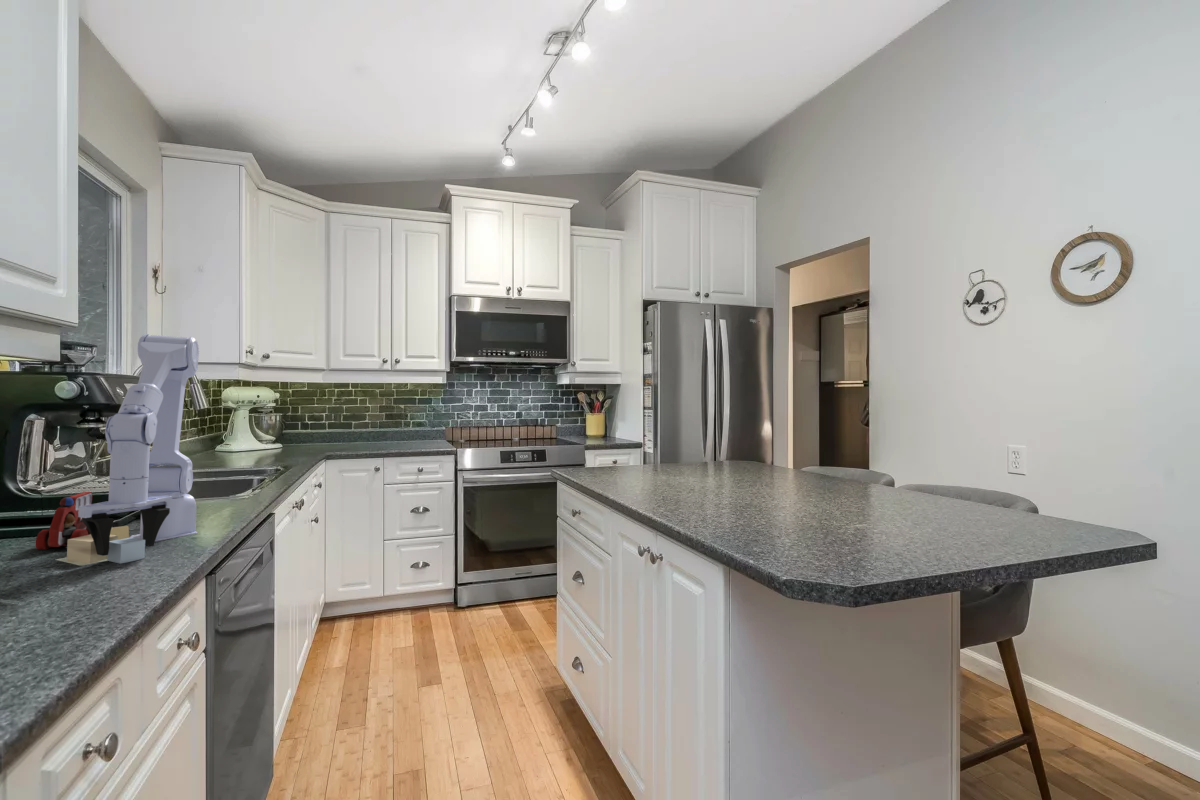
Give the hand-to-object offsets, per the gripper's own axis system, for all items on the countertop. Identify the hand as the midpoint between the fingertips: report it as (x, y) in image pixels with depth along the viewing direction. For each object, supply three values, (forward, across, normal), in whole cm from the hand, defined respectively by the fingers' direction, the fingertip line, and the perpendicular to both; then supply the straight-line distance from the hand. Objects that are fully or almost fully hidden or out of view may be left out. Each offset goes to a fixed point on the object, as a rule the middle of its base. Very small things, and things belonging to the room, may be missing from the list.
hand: (126, 549), depth 109 cm
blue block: (+2, 0, 0) cm, 2 cm away
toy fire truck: (+2, +1, +20) cm, 20 cm away
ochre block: (+2, +3, +10) cm, 11 cm away
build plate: (+2, -1, +6) cm, 7 cm away
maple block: (+2, -3, +5) cm, 6 cm away
